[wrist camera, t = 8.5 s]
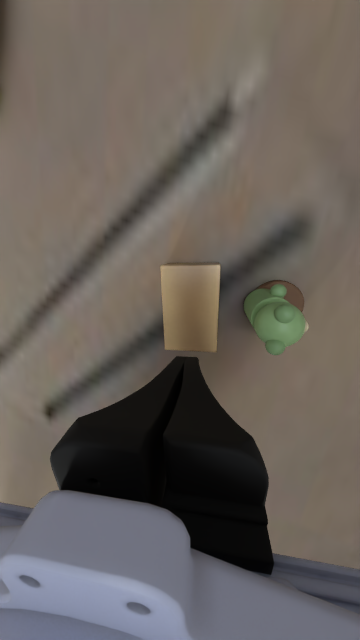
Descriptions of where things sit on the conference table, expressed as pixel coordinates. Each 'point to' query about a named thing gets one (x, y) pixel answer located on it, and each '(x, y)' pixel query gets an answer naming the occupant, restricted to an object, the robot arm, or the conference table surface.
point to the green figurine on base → (276, 314)
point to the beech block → (190, 305)
